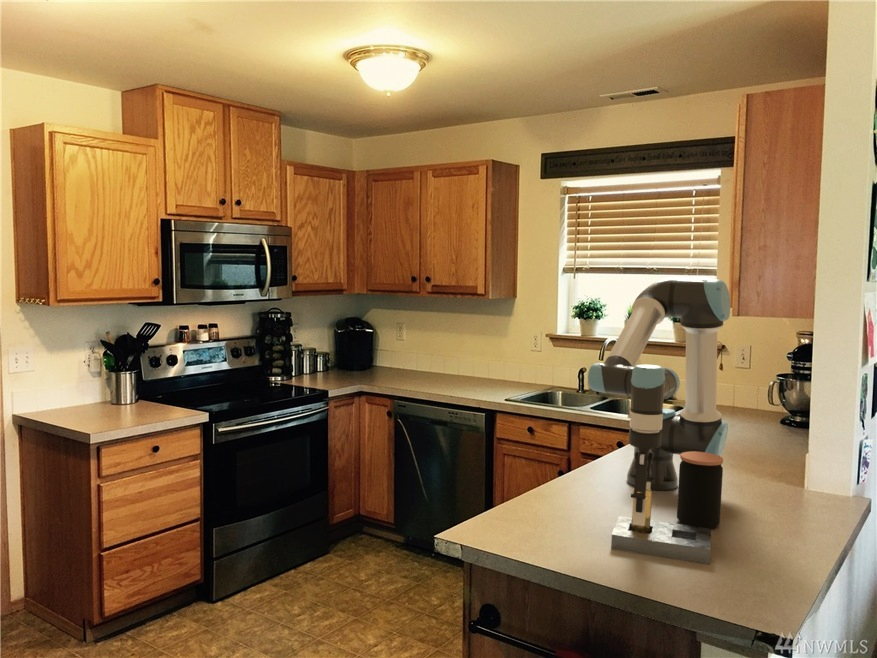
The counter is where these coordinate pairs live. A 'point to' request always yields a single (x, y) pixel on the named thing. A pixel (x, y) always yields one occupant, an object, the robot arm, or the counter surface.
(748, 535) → the counter surface
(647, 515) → the yellow translucent cylinder
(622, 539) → the block
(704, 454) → the coffee jar
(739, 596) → the counter surface
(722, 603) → the counter surface
